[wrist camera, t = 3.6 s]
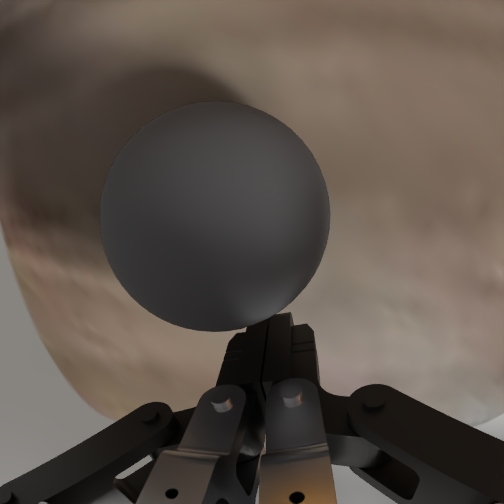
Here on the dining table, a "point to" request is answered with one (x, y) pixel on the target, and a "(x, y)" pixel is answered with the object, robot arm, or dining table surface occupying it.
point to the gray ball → (214, 216)
